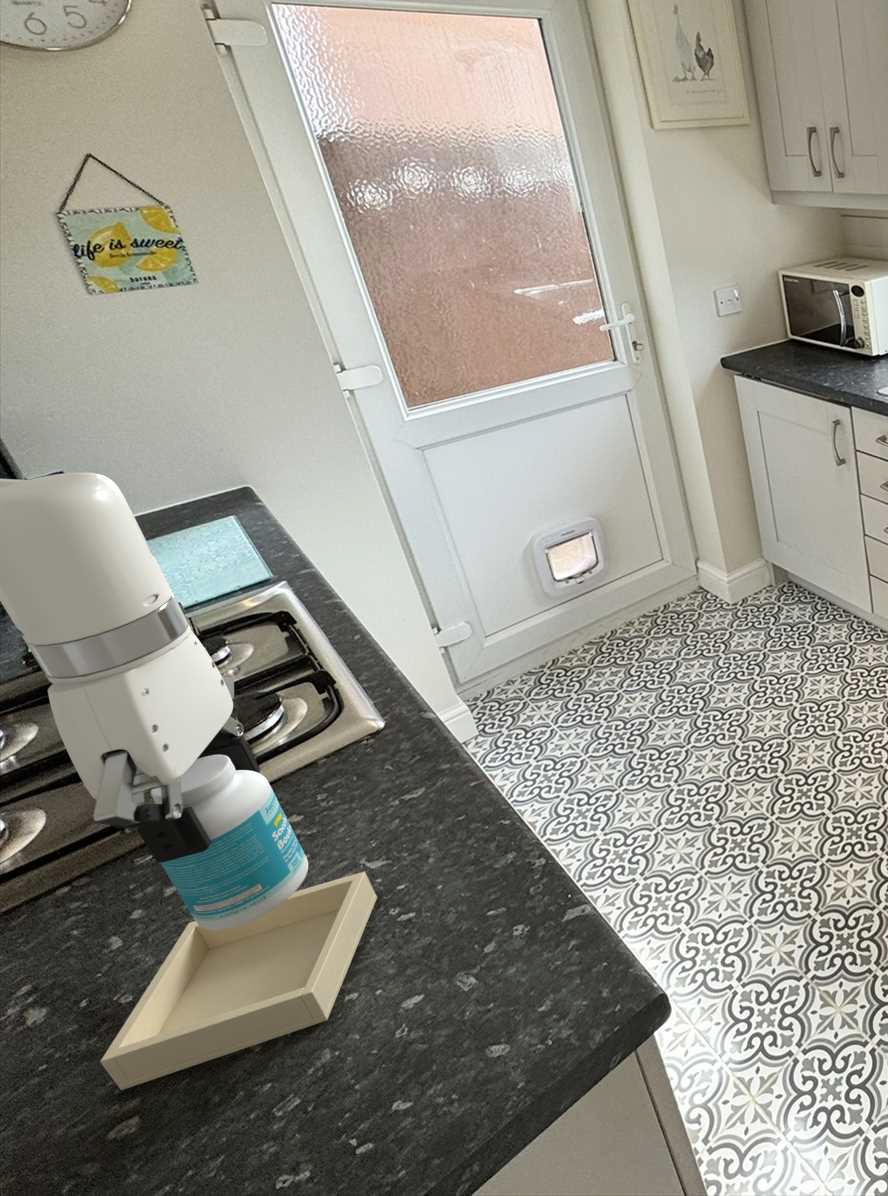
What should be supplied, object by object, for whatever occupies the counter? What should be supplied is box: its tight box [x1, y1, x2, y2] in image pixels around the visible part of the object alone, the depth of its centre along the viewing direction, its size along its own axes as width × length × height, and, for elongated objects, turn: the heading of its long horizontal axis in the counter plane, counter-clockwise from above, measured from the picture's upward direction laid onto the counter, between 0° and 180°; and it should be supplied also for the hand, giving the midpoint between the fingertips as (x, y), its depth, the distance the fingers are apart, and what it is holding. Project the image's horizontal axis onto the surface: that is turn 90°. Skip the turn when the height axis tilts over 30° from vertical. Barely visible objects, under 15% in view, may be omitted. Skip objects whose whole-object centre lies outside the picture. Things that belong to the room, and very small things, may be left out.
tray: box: [100, 871, 378, 1091], centre depth 69 cm, size 14×13×4 cm
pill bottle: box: [150, 755, 309, 930], centre depth 65 cm, size 8×7×14 cm
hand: (212, 814), depth 64 cm, fingers closed on pill bottle, 7 cm apart
